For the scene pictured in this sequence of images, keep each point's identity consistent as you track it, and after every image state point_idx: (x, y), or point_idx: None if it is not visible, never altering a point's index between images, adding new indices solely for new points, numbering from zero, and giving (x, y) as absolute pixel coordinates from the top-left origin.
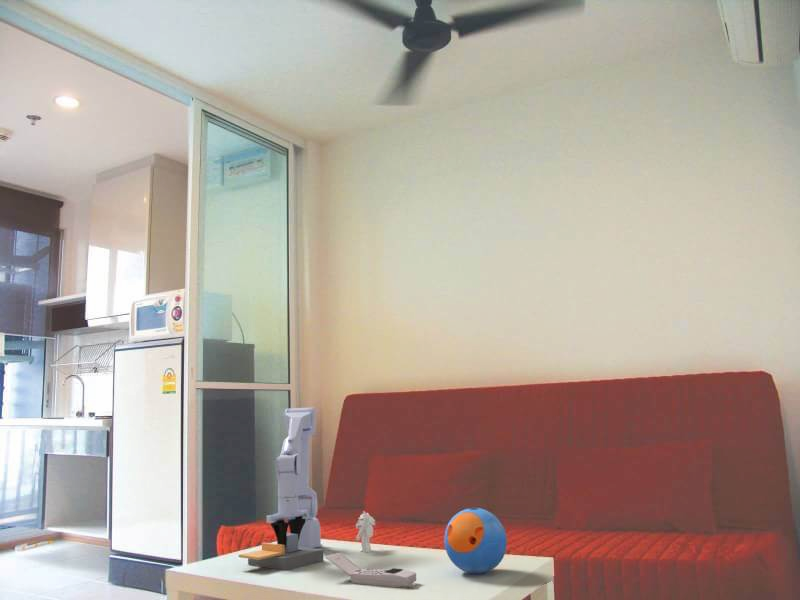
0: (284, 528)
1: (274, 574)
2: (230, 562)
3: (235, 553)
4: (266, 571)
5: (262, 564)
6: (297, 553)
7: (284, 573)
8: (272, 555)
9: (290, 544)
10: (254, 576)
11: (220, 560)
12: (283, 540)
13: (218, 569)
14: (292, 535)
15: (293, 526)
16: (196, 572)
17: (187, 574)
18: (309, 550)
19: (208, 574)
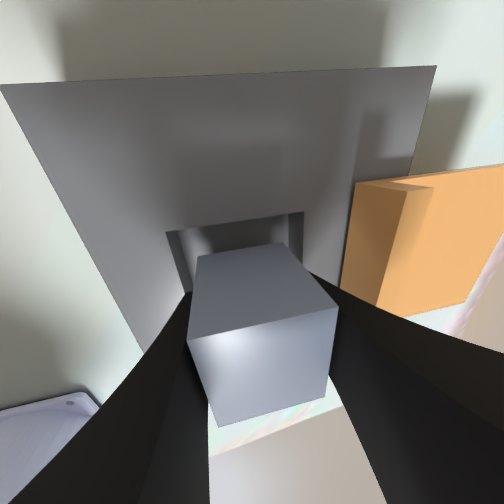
0: (501, 367)
1: (464, 56)
2: None
3: (252, 439)
4: (411, 164)
5: None
6: (274, 153)
7: (439, 14)
8: (450, 171)
9: (273, 268)
10: (500, 118)
11: (325, 396)
12: (342, 293)
13: (410, 317)
14: (269, 319)
15: (194, 493)
16: (447, 322)
17: (468, 316)
18: (143, 177)
19: None
